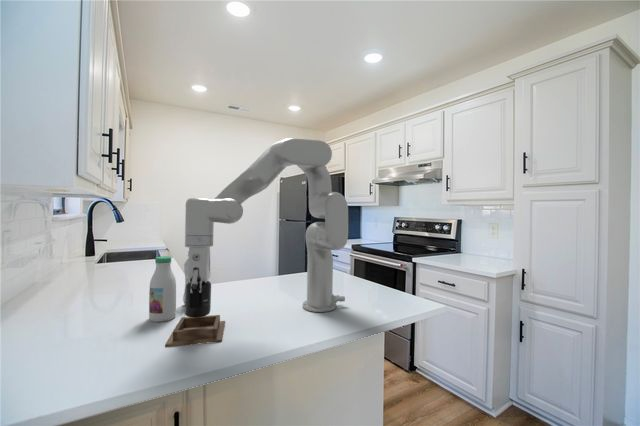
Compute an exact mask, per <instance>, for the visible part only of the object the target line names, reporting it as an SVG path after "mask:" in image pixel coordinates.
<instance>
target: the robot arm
mask: <svg viewBox="0 0 640 426" xmlns="http://www.w3.org/2000/svg"><path fill="white" fill-rule="evenodd" d="M332 158H333V152H332V148H331V146H330V145H329V144H328V143H327V142H325V141H323V140H319V139H308V138H307V139H306V138H297V137H296V138H292V137H289V138H288V137H287V138H285V139H281V140H280V141H279V140H278V141H277V142H274V143H272V144H271V145H270V146H269V147H268V148H266V150H264V152H263V153H262V154H261V155H260V156H259V157H258V158H257V159H256V160H255V161H254V162H253V163H252V164H251V165H249V167H248V168H247V169H246V170H244V171H243V172H242V173H241V174H240V175H239V176H238V177H236V178H234V180H232V182H230V183H229V184H228V185H227V186H226V187H225V188H224V189H222V191H220V192H219V193H218V194H217V196H216V197H214V198H213V199H211V198H206V197H204V198H203V197H191V198H188V199H186V203H185V221H184V222H185V223H184V224H185V225H184V226H185V227H184V229H185V230H184V234H185V235H184V247H185V248H188V251H189V257H188V258H189V259H188V258H187V259H188V281H189V282H190V283H191V290H190V308H200V307H202V305H203V292H202V281H204V282H205V283H206V282H207V281H209V280H210V278H211V273H212V272H211V248H212V247H213V246H214V225H215V224H214V223H217V224H218V223H221V224H226V225H227V224H228V225H231V224H235V223H237V222H239V220H241V218H242V217H243V215H244V208H243V206H242V203H243V204H244V203H245V202H246V201H247V200H248V199H249V198H251V197H253V196H255V195H257V194H260V193H261V192H263V191H265V190H267V188H269V186H270V185H271V184H272V183H273V182H274V181H275V179H276V178H278V176H279V175H280V174H281V173H282V172H283V170H285V169H286V168H287V167H289V166H297V167H298V168H299V169H300V170H301V171H302V172H303V173H304V174H305V176H306V178H307V183H308V211H309V213H310V214H309V215H311V216H312V217H313V218H316V219H324V221H315V222H313V223H311V224H310V225H309V226H307V228H306V231H305V244H306V252H307V268H306V269H307V270H306V271H307V272H306V274H307V275H306V279H307V280H306V300H305V301H303V302H302V308H303V309H304V310H306V311H308V312H312V313H313V312H314V313H328V312H333V311H334V310H336V309H337V303H338V302H346V296H343V295H339V294H337V295H334V294H333V291H334V290H333V284H334V281H333V277H334V270H333V269H334V257H333V253H332V251H340V250H342V249H344V247H345V246H346V244H347V243H348V238H349V205H348V201H347V200H346V198H345V196H344V195H343V194H342V193H340V192H336V191H332V178H331V174H330V172H329V170H328V169H327V167H326V165H328V164H329V163H330V162H331V160H332ZM191 278H192V279H191ZM190 279H191V280H190ZM198 280H201V281H198ZM198 284H200V286H199V285H198Z"/></svg>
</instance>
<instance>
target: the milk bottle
mask: <svg viewBox="0 0 640 426" xmlns="http://www.w3.org/2000/svg"><path fill="white" fill-rule="evenodd" d="M154 260H155V270H154V272H153V274H152V276H151V278H150V282H149V292H148V293H149V298H148V300H149V301H148V308H149V309H148V319H149V321H150V322H153V323H160V322H161V323H162V322H166V321H171V320H172V319H174V318H176V315H177V281H176V277H175V275H174V272H173V270H172V267H171V264H172V257H171V256H164V255H163V256H158V257H155V259H154Z"/></svg>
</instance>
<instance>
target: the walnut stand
mask: <svg viewBox="0 0 640 426" xmlns="http://www.w3.org/2000/svg"><path fill="white" fill-rule="evenodd" d="M225 327H226V320H221V315H220V314H213V315H210V314H209V315H206V316H203V317H188V316H183V317H181V318H180V319H179V321H178V323H177V324H175V327H174V329H173V331H172V332H171V334H170V336H169V337H168V339H167V341H165V342H166V343H164V347H165V348H167V347H168V348H169V347H179V346H180V345H181V346H189V345H190V344H192V345H199V344H198V343H203V344H208V343H207V342H215V343H221V342H222V341H223V337H224V331H225Z"/></svg>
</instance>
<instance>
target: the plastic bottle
mask: <svg viewBox="0 0 640 426" xmlns="http://www.w3.org/2000/svg"><path fill="white" fill-rule="evenodd" d="M188 259H189V250H188V251H187V259H186V260H185V262H184V265H183V270H184V280H185V282H184V291H183V296H182V301H183V304H184V305H185V295H186V285H187V283H188V282H189V281H188Z"/></svg>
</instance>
